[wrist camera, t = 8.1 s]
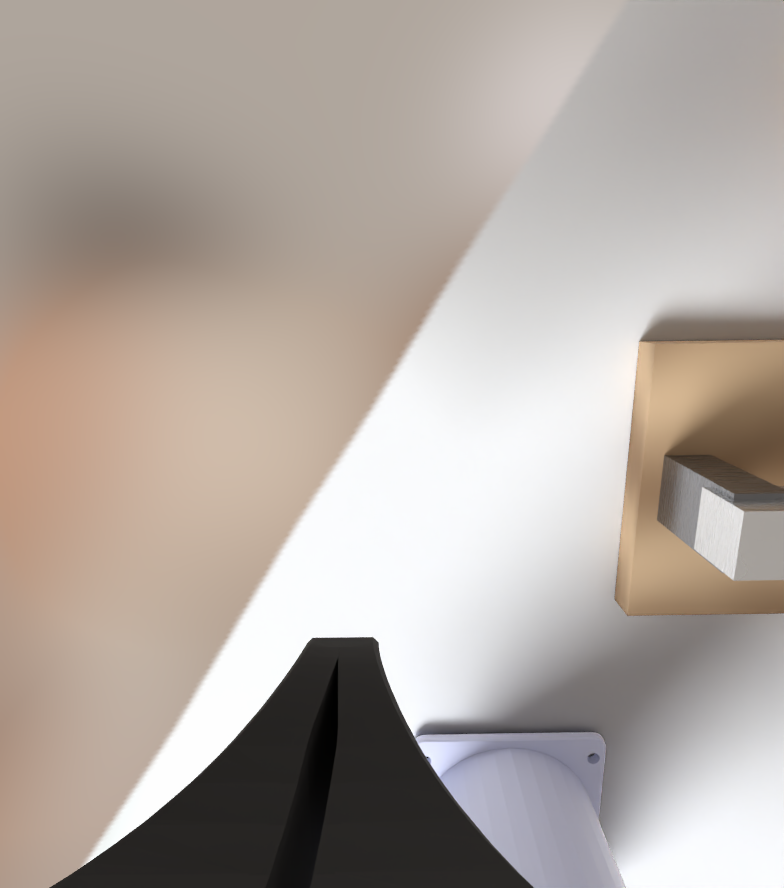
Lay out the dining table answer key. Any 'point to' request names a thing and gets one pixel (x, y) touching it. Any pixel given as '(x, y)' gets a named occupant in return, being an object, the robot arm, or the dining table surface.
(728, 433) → the oak board
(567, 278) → the dining table surface
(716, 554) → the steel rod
